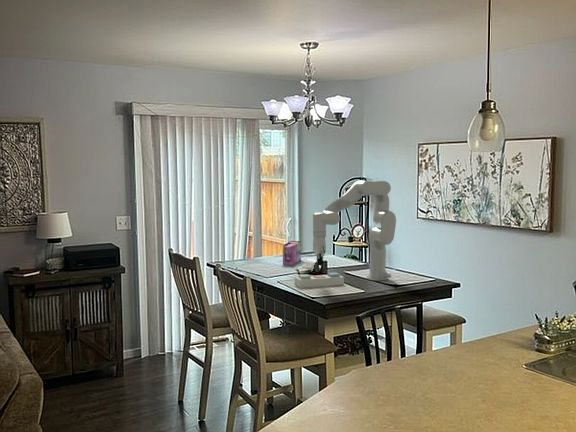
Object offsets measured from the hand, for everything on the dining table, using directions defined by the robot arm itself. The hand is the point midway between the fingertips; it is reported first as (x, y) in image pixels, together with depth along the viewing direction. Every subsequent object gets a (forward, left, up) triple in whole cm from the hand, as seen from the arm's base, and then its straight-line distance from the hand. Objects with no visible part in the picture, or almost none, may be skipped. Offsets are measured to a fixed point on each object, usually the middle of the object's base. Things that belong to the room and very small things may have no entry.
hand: (319, 265), depth 328 cm
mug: (+24, -28, -12) cm, 39 cm away
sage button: (+6, +7, -8) cm, 13 cm away
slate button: (-5, -7, -8) cm, 12 cm away
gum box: (+55, -50, -12) cm, 75 cm away
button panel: (0, 0, -12) cm, 12 cm away
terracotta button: (0, 0, -10) cm, 10 cm away
